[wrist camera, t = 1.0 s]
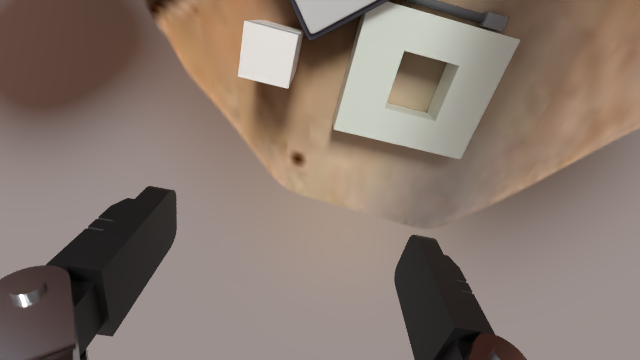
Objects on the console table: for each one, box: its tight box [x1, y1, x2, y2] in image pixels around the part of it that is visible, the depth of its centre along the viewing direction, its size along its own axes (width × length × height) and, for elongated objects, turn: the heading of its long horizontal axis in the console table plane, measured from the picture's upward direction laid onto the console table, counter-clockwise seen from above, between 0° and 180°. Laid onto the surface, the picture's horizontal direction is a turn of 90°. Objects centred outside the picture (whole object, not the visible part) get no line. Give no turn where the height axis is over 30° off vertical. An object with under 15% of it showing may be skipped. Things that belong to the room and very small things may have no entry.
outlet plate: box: [333, 1, 520, 159], centre depth 31 cm, size 12×14×3 cm
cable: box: [404, 0, 509, 32], centre depth 28 cm, size 1×12×1 cm, turn 76°
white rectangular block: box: [238, 20, 304, 89], centre depth 27 cm, size 4×4×8 cm
